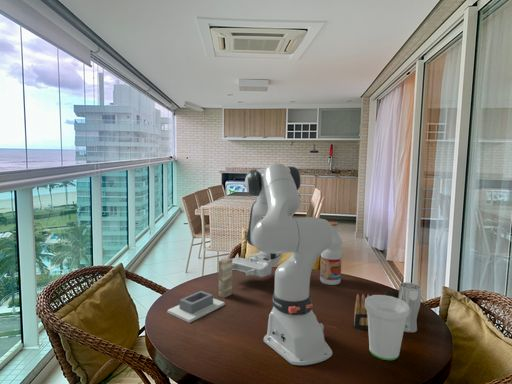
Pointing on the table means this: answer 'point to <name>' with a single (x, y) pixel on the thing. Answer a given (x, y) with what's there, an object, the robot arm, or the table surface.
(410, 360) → the table surface
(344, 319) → the table surface
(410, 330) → the beer glass
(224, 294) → the slat
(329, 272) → the fruit juice
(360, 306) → the ammunition clip
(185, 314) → the stand
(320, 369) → the table surface
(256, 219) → the robot arm
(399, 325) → the cup
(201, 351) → the table surface
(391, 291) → the dark grey rounded lump
